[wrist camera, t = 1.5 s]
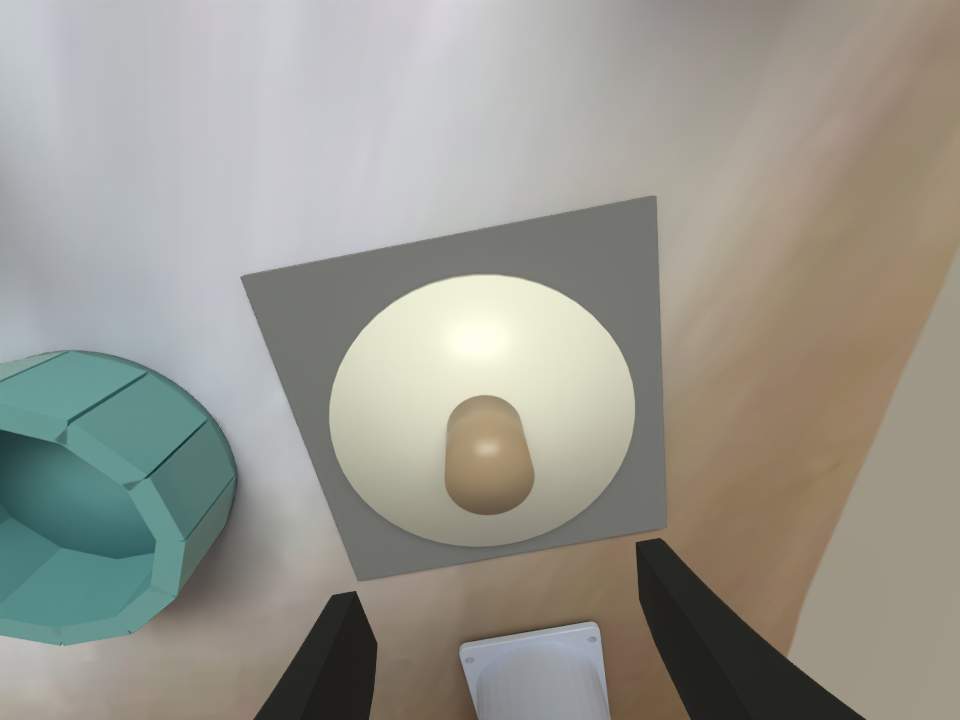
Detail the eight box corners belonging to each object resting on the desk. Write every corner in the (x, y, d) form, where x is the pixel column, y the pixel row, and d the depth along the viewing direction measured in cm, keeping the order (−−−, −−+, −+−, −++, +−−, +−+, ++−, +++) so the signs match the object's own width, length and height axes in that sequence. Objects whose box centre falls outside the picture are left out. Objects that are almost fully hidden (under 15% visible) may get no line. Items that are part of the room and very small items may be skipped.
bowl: (271, 535, 22) (228, 617, 18) (59, 573, 23) (-32, 662, 18) (175, 327, 18) (90, 371, 14) (-83, 377, 18) (-241, 435, 14)
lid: (636, 508, 22) (675, 580, 18) (379, 555, 23) (362, 635, 19) (618, 243, 17) (666, 262, 13) (291, 307, 18) (243, 344, 14)
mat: (663, 521, 23) (667, 527, 23) (359, 575, 23) (358, 581, 23) (652, 195, 17) (656, 196, 17) (244, 275, 18) (240, 277, 17)
